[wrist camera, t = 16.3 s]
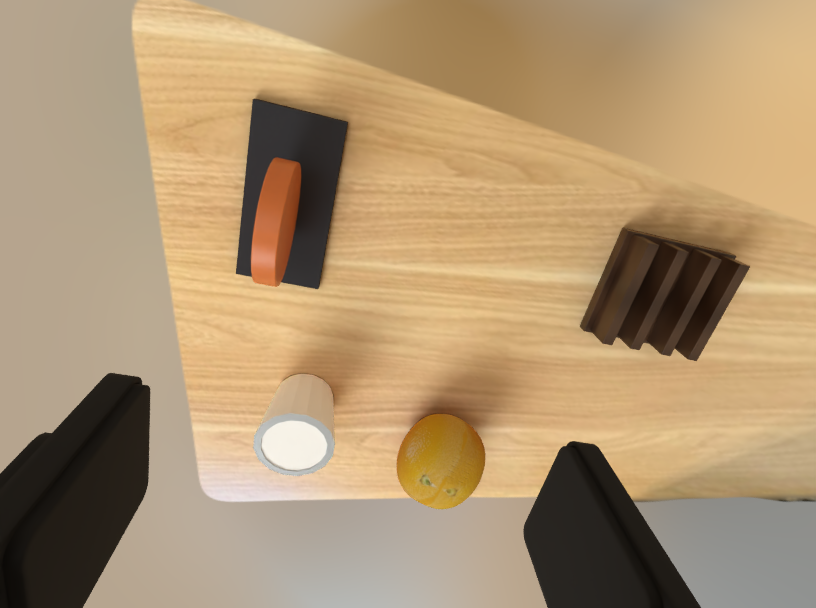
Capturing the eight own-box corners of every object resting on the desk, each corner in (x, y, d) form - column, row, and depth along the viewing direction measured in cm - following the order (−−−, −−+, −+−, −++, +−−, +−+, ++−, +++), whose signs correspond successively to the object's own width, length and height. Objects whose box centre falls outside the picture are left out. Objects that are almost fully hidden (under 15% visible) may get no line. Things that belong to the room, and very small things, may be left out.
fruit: (413, 390, 46) (422, 445, 39) (486, 409, 48) (507, 465, 41) (385, 455, 50) (388, 518, 42) (454, 471, 51) (468, 533, 44)
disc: (284, 145, 35) (257, 174, 27) (306, 150, 35) (285, 181, 27) (272, 253, 39) (246, 305, 31) (291, 257, 39) (270, 309, 32)
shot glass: (319, 357, 44) (311, 402, 38) (351, 410, 47) (348, 460, 41) (255, 383, 45) (236, 432, 38) (290, 434, 48) (278, 487, 41)
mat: (254, 98, 34) (252, 98, 34) (347, 121, 36) (347, 122, 35) (237, 271, 40) (235, 273, 39) (318, 286, 41) (318, 289, 40)
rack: (622, 227, 41) (643, 239, 38) (729, 252, 43) (757, 265, 40) (579, 326, 45) (595, 344, 42) (678, 345, 47) (701, 364, 43)
